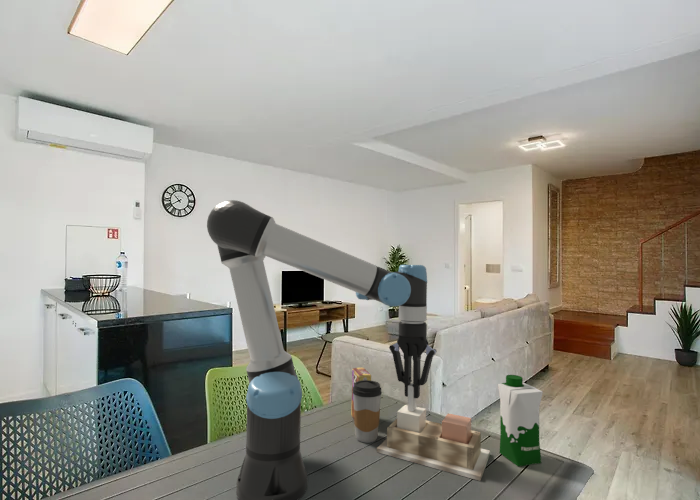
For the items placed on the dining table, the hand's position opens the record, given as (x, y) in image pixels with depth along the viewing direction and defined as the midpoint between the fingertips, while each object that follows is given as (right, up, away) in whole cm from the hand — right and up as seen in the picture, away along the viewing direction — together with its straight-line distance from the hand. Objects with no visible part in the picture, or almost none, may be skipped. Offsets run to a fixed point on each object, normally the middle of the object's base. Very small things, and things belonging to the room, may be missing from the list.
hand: (412, 409), depth 102 cm
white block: (0, -7, 0) cm, 7 cm away
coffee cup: (-12, -10, +5) cm, 17 cm away
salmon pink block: (+10, -7, -6) cm, 14 cm away
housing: (+5, -10, -3) cm, 12 cm away
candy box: (-13, -11, +17) cm, 24 cm away
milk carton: (+27, -11, -5) cm, 29 cm away
